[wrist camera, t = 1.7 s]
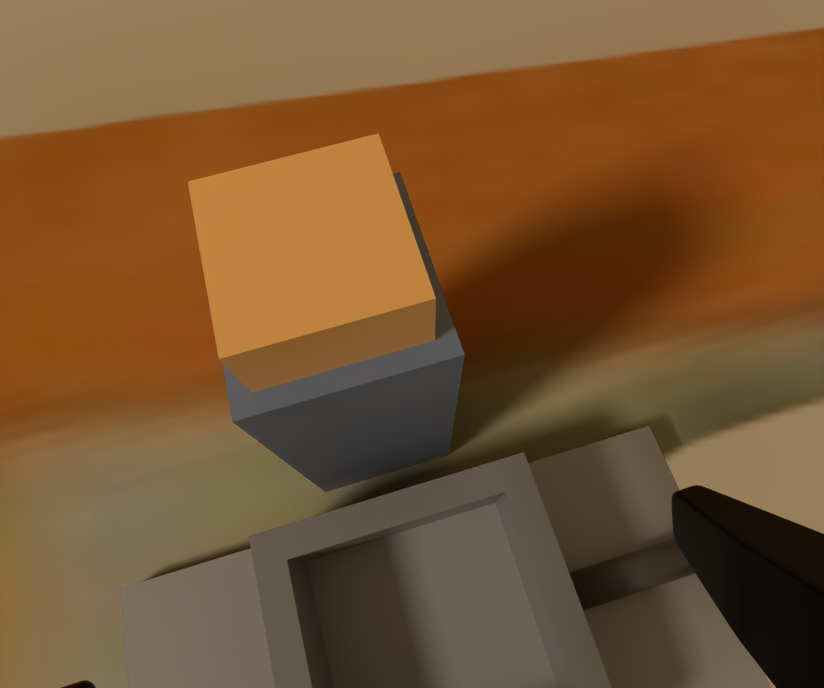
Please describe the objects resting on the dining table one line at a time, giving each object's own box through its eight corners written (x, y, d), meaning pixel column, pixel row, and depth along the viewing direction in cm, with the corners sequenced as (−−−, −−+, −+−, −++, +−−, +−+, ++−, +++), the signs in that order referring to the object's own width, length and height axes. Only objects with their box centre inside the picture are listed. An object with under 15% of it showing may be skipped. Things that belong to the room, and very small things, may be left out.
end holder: (763, 681, 19) (845, 708, 15) (163, 893, 17) (90, 980, 14) (647, 429, 22) (690, 401, 19) (134, 587, 21) (68, 591, 17)
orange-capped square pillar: (448, 454, 22) (471, 314, 10) (325, 492, 22) (195, 393, 10) (412, 341, 24) (395, 110, 12) (298, 374, 24) (160, 169, 12)
